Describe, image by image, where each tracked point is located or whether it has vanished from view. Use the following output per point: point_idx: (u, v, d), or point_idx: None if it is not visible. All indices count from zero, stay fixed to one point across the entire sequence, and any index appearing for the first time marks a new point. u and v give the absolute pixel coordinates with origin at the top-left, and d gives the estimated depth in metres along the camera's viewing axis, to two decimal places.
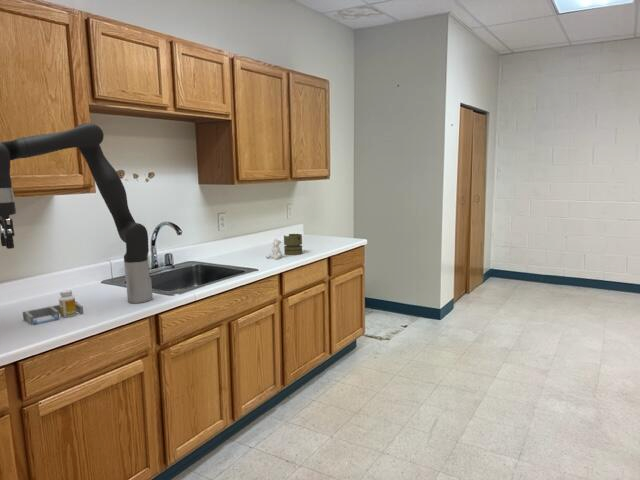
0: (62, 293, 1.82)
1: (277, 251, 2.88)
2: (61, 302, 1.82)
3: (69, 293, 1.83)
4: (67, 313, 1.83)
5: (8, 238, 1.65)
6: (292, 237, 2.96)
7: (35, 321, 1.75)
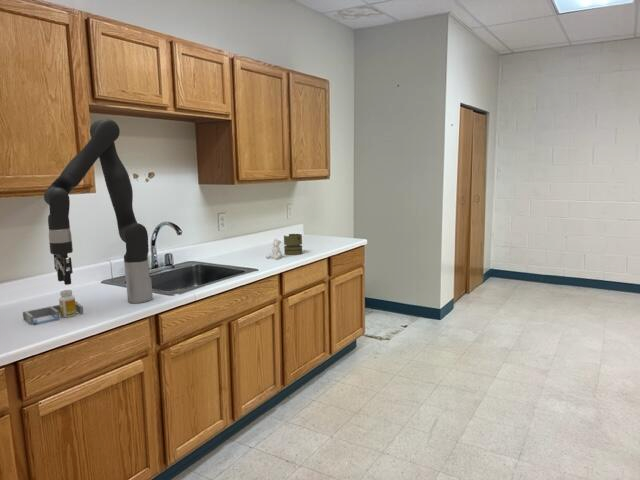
0: (62, 293, 1.82)
1: (277, 251, 2.88)
2: (61, 302, 1.82)
3: (69, 293, 1.83)
4: (67, 313, 1.83)
5: (66, 275, 1.79)
6: (292, 237, 2.96)
7: (35, 321, 1.75)
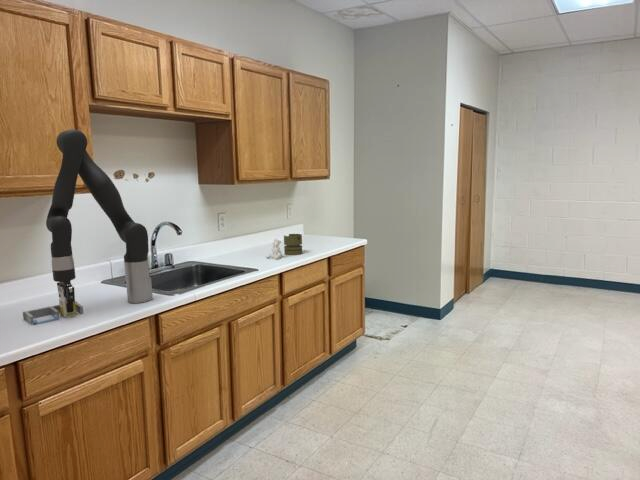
0: None
1: (277, 251, 2.88)
2: (61, 302, 1.82)
3: None
4: (67, 313, 1.83)
5: (69, 303, 1.81)
6: (292, 237, 2.96)
7: (35, 321, 1.75)
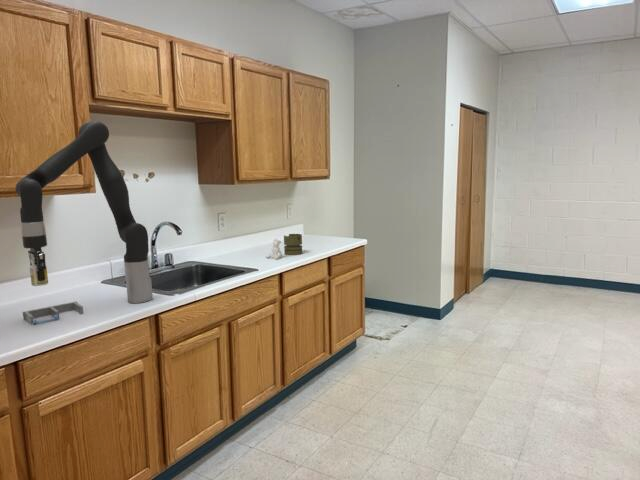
0: None
1: (277, 251, 2.88)
2: (31, 270, 1.74)
3: None
4: (38, 281, 1.75)
5: (40, 271, 1.73)
6: (292, 237, 2.96)
7: (35, 321, 1.75)
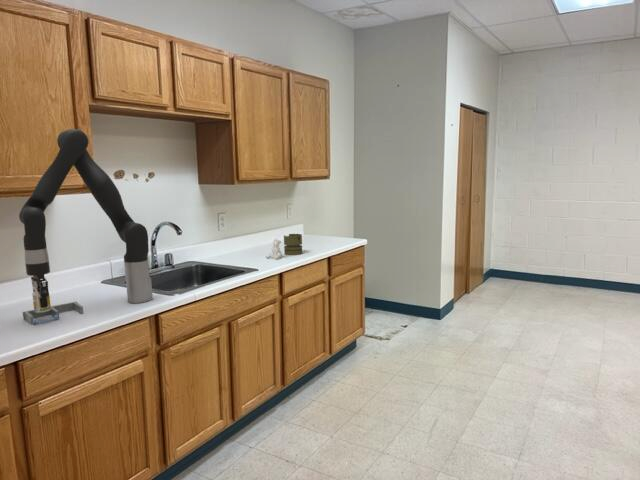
0: (35, 287, 1.76)
1: (277, 251, 2.88)
2: (34, 297, 1.76)
3: None
4: (41, 308, 1.76)
5: (43, 298, 1.75)
6: (292, 237, 2.96)
7: (35, 321, 1.75)
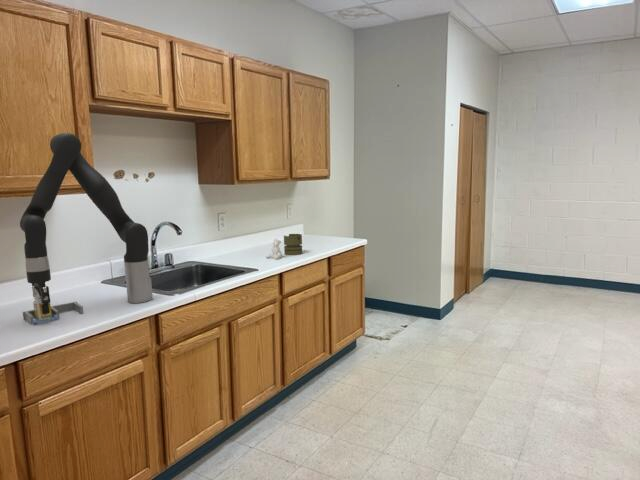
0: (36, 295, 1.77)
1: (277, 251, 2.88)
2: (35, 305, 1.77)
3: None
4: (42, 316, 1.77)
5: (44, 304, 1.74)
6: (292, 237, 2.96)
7: (35, 321, 1.75)
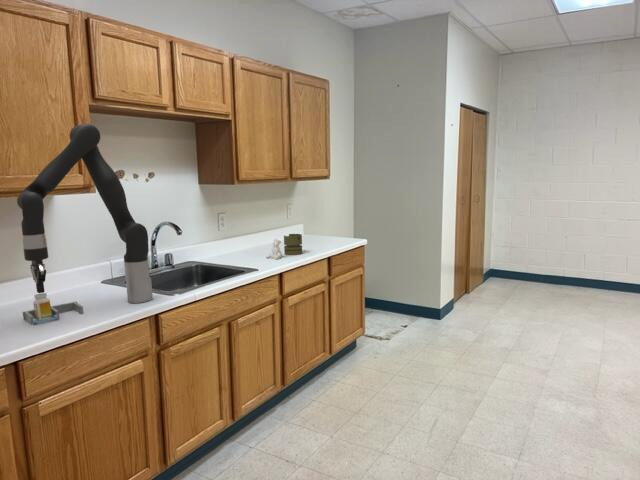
0: (36, 295, 1.77)
1: (277, 251, 2.88)
2: (35, 305, 1.77)
3: (43, 295, 1.78)
4: (42, 316, 1.77)
5: (39, 283, 1.76)
6: (292, 237, 2.96)
7: (35, 321, 1.75)
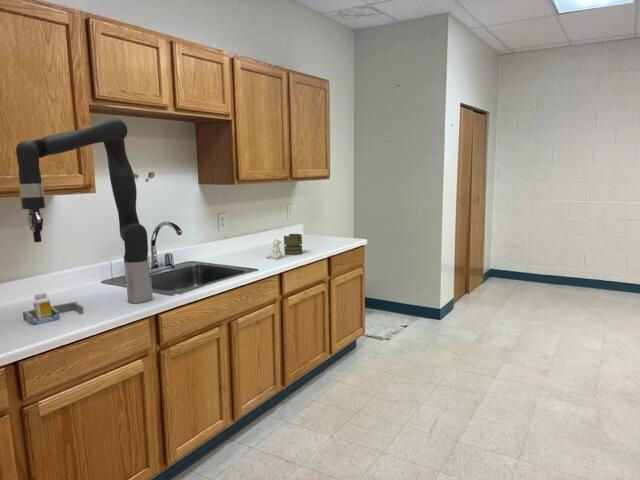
0: (36, 295, 1.77)
1: (277, 251, 2.88)
2: (35, 305, 1.77)
3: (43, 295, 1.78)
4: (42, 316, 1.77)
5: (36, 232, 1.79)
6: (292, 237, 2.96)
7: (35, 321, 1.75)
